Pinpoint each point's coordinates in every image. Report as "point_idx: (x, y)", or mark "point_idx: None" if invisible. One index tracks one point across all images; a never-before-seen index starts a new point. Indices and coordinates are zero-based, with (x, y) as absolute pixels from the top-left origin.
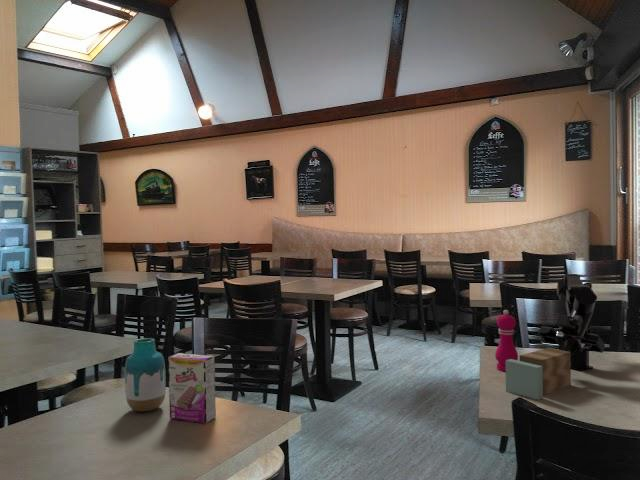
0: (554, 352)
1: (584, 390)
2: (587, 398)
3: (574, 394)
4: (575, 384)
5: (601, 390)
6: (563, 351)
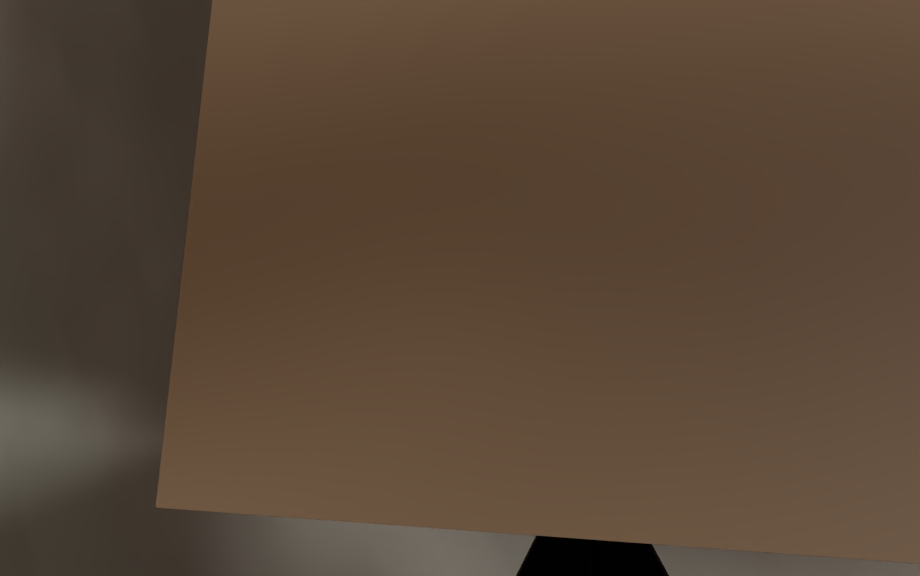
0: (532, 6)
1: (168, 368)
2: (23, 85)
3: (191, 106)
4: (376, 559)
5: (7, 549)
6: (376, 392)
